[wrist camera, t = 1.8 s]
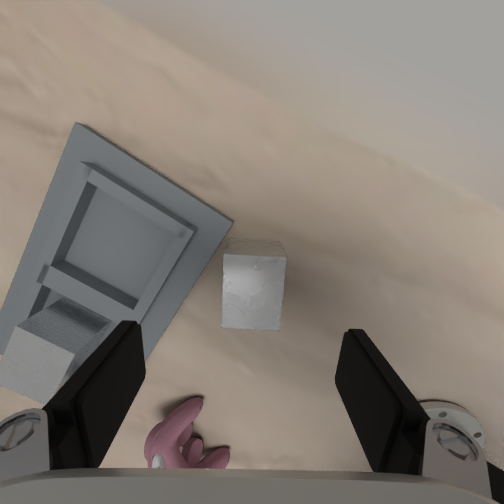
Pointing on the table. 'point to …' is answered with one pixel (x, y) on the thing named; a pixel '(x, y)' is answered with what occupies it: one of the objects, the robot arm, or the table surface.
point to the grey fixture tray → (113, 241)
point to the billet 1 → (50, 348)
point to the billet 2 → (253, 284)
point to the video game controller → (181, 442)
